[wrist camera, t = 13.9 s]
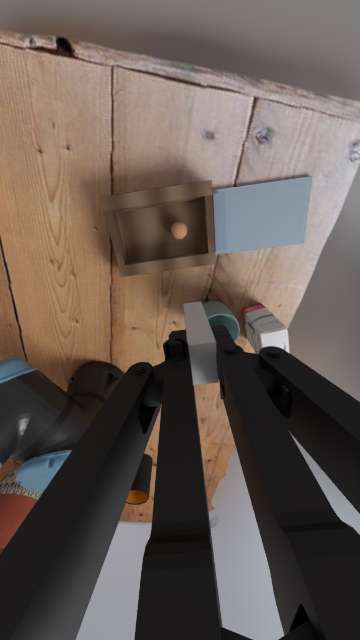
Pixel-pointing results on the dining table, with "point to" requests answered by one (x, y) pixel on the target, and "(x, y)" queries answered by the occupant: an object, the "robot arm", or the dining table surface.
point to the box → (161, 228)
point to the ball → (179, 230)
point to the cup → (222, 317)
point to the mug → (141, 482)
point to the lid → (261, 215)
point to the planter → (13, 506)
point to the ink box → (264, 329)
